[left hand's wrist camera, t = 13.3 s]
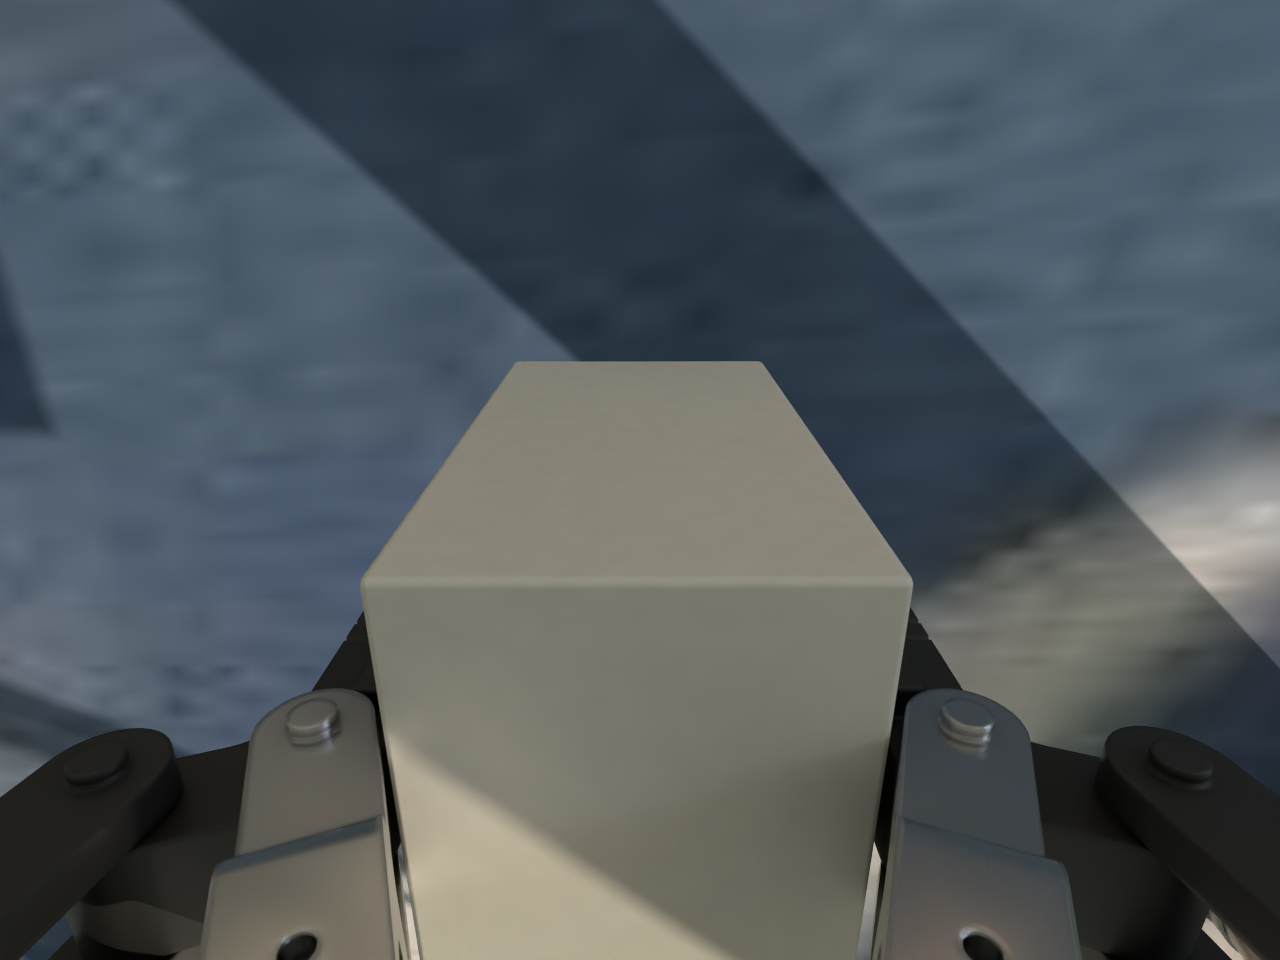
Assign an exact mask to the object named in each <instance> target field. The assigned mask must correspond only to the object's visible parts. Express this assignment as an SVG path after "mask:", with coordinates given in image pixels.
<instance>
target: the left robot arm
mask: <svg viewBox="0 0 1280 960" xmlns="http://www.w3.org/2000/svg"><path fill="white" fill-rule="evenodd" d="M874 842H875V845H876V848H877V850H878V853H879V856H880V859H881V862H880V868H879V874H878V882H877V891H876V900H875V908H874V917H873V926H872V935H871V943H870V952H869V960H1232V959H1231V958H1230V957H1229V956H1228V955H1227V954H1226V953H1225V952H1224V951H1223V950H1222V949H1221V948H1220V947H1219V946H1218V945H1217V944H1216V943H1215V942H1214V941H1213V940H1212V939H1211V938H1210V937H1209V936H1208V935H1207V934H1206V933H1205V932H1204V931H1203V930H1202V927H1203V924H1204V922H1205V919H1206V917H1207V914H1208V912H1209V915H1210V918H1211V920H1212V922H1213V923H1214V925H1215V926H1216V927H1217V929H1218V930H1219V931H1220V933H1221V934H1222V935H1223V937H1224V938H1225V939H1226V940H1227V942H1228V943H1229V944H1230V945H1231V946H1232V947H1233V948H1234V949H1235V950H1236V951H1237V952H1239V953H1240V954H1241V956H1242V957H1243V958H1244V959H1245V960H1280V797H1278V796H1277V795H1276V794H1274V793H1273V792H1272V791H1270V790H1269V789H1268V788H1266V787H1265V786H1264V785H1262V784H1261V783H1260V782H1258V781H1257V780H1256V779H1254V778H1253V777H1252V776H1250V775H1249V774H1248V773H1246V772H1245V771H1244V770H1243V769H1241V768H1240V767H1239V766H1237V765H1236V764H1235V763H1233V762H1232V761H1231V760H1229V759H1228V758H1226V757H1225V756H1224V755H1222V754H1221V753H1219V752H1218V751H1216V750H1214V749H1212V748H1211V747H1209V746H1207V745H1205V744H1203V743H1201V742H1199V741H1197V740H1195V739H1192V738H1190V737H1187V736H1185V735H1182V734H1179V733H1176V732H1173V731H1169V730H1165V729H1160V728H1155V727H1148V726H1131V727H1125V728H1121V729H1118V730H1116V731H1114V732H1112V733H1111V734H1110V735H1109V736H1108V738H1107V740H1106V742H1105V746H1104V749H1103V753H1102V756H1101V758H1099V757H1095V756H1090V755H1085V754H1081V753H1076V752H1072V751H1067V750H1062V749H1058V748H1053V747H1049V746H1044V745H1041V744H1037V743H1033V742H1030V737H1029V734H1028V731H1027V730H1026V728H1025V726H1024V725H1023V723H1022V722H1021V721H1020V720H1019V719H1018V718H1017V717H1016V716H1015V715H1014V714H1013V713H1012V712H1011V711H1009V710H1008V709H1006V708H1005V707H1004V706H1002V705H1000V704H999V703H997V702H995V701H993V700H991V699H989V698H987V697H984V696H981V695H979V694H976V693H972V692H968V691H964V690H963V689H962V688H961V686H960V684H959V683H958V681H957V680H956V678H955V677H954V675H953V673H952V672H951V670H950V669H949V667H948V666H947V664H946V663H945V661H944V659H943V658H942V656H941V655H940V653H939V652H938V650H937V648H936V647H935V645H934V644H933V642H932V641H931V640H929V639H928V634H927V633H926V631H925V630H924V628H923V627H922V625H921V623H918V619H917V617H916V616H915V614H914V612H913V611H912V609H911V608H910V610H909V616H908V623H907V629H906V636H905V642H904V649H903V655H902V662H901V668H900V675H899V681H898V688H897V694H896V701H895V707H894V714H893V720H892V727H891V733H890V740H889V746H888V753H887V759H886V766H885V772H884V779H883V785H882V792H881V799H880V805H879V812H878V818H877V825H876V831H875V838H874ZM400 843H401V838H400V832H399V826H398V819H397V813H396V807H395V801H394V795H393V788H392V782H391V776H390V770H389V764H388V757H387V751H386V745H385V739H384V733H383V726H382V720H381V714H380V708H379V702H378V695H377V689H376V683H375V677H374V671H373V664H372V658H371V652H370V646H369V640H368V633H367V627H366V621H365V615H364V611H363V613H362V614H361V616H360V617H359V619H358V623H357V624H355V625H354V626H353V628H352V630H351V631H350V633H349V634H348V636H347V641H344V642H343V643H342V645H341V647H340V648H339V650H338V651H337V653H336V654H335V656H334V657H333V659H332V660H331V662H330V664H329V665H328V667H327V668H326V670H325V671H324V673H323V674H322V676H321V677H320V679H319V681H318V682H317V684H316V685H315V687H314V688H313V690H312V691H311V692H308V693H304V694H301V695H299V696H296V697H293V698H291V699H289V700H287V701H285V702H283V703H281V704H280V705H278V706H276V707H275V708H274V709H272V710H271V711H269V712H268V713H267V714H266V715H265V716H264V717H263V718H262V719H261V720H260V721H259V722H258V723H257V725H256V726H255V728H254V730H253V731H252V734H251V737H250V741H248V742H245V743H242V744H239V745H235V746H231V747H227V748H223V749H218V750H213V751H209V752H204V753H200V754H195V755H190V756H186V757H181V758H177V759H176V757H175V753H174V750H173V747H172V743H171V741H170V739H169V738H168V737H167V736H166V735H165V734H163V733H161V732H159V731H156V730H152V729H145V728H132V729H124V730H117V731H113V732H109V733H105V734H102V735H99V736H95V737H93V738H90V739H88V740H85V741H83V742H81V743H78V744H76V745H74V746H72V747H70V748H68V749H67V750H65V751H63V752H62V753H60V754H58V755H57V756H55V757H54V758H52V759H51V760H49V761H48V762H47V763H45V764H44V765H43V766H41V767H40V768H39V769H37V770H36V771H35V772H33V773H32V774H31V775H30V776H28V777H27V778H26V779H24V780H23V781H22V782H20V783H19V784H18V785H16V786H15V787H14V788H12V789H11V790H10V791H8V792H7V793H6V794H4V795H3V796H2V797H0V960H19V959H20V958H21V957H22V956H23V955H24V954H25V953H26V952H27V951H28V950H29V949H30V948H31V947H32V946H33V945H34V944H35V943H36V942H37V941H38V940H39V939H40V938H41V937H42V936H43V935H44V934H45V933H46V932H47V931H48V930H49V929H50V928H52V927H53V926H54V925H55V924H56V923H57V922H58V921H59V920H60V919H61V918H62V917H63V916H64V915H65V917H66V920H67V922H68V925H69V927H70V929H71V932H72V934H73V935H72V936H71V937H70V938H69V939H68V940H67V941H66V942H65V943H64V944H63V945H62V946H61V947H60V948H59V949H58V950H57V951H56V952H55V953H54V954H53V955H52V956H51V957H50V958H49V959H48V960H411V952H410V943H409V935H408V926H407V917H406V908H405V900H404V891H403V882H402V874H401V868H400V862H399V856H398V848H399V845H400Z"/></svg>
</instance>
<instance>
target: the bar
mask: <svg viewBox="0 0 1280 960" xmlns="http://www.w3.org/2000/svg"><path fill="white" fill-rule="evenodd" d="M360 590H361V596H362V602H363V609H364V615H365V621H366V627H367V633H368V640H369V646H370V652H371V658H372V664H373V671H374V677H375V683H376V689H377V695H378V702H379V708H380V714H381V720H382V726H383V733H384V739H385V745H386V751H387V757H388V764H389V770H390V776H391V782H392V788H393V795H394V801H395V807H396V813H397V819H398V826H399V832H400V838H401V844H402V850H403V857H404V863H405V869H406V875H407V881H408V888H409V894H410V900H411V906H412V912H413V919H414V925H415V931H416V937H417V943H418V950H419V956H420V960H856V955H857V948H858V942H859V935H860V929H861V922H862V916H863V909H864V903H865V896H866V890H867V883H868V877H869V870H870V864H871V857H872V851H873V844H874V838H875V831H876V825H877V818H878V812H879V805H880V799H881V792H882V785H883V779H884V772H885V766H886V759H887V753H888V746H889V740H890V733H891V727H892V720H893V714H894V707H895V701H896V694H897V688H898V681H899V675H900V668H901V662H902V655H903V649H904V642H905V636H906V629H907V623H908V616H909V610H910V603H911V597H912V590H913V581H912V578H911V576H910V575H909V573H908V572H907V571H906V569H905V568H904V566H903V565H902V563H901V562H900V560H899V559H898V558H897V556H896V555H895V553H894V552H893V550H892V549H891V548H890V546H889V545H888V543H887V542H886V540H885V539H884V537H883V536H882V535H881V533H880V532H879V530H878V529H877V527H876V526H875V525H874V523H873V522H872V520H871V519H870V517H869V516H868V514H867V513H866V512H865V510H864V509H863V507H862V506H861V504H860V503H859V502H858V500H857V499H856V497H855V496H854V494H853V493H852V491H851V490H850V489H849V487H848V486H847V484H846V483H845V481H844V480H843V479H842V477H841V476H840V474H839V473H838V471H837V470H836V468H835V467H834V466H833V464H832V463H831V461H830V460H829V458H828V457H827V456H826V454H825V453H824V451H823V450H822V448H821V447H820V445H819V444H818V443H817V441H816V440H815V438H814V437H813V435H812V434H811V433H810V431H809V430H808V428H807V427H806V425H805V424H804V422H803V421H802V420H801V418H800V417H799V415H798V414H797V412H796V411H795V410H794V408H793V407H792V405H791V404H790V402H789V401H788V399H787V398H786V397H785V395H784V394H783V392H782V391H781V389H780V388H779V387H778V385H777V384H776V382H775V381H774V379H773V378H772V376H771V375H770V374H769V372H768V371H767V369H766V368H765V366H764V365H763V363H762V362H759V361H649V362H516V363H515V364H514V365H513V367H512V368H511V370H510V371H509V372H508V374H507V375H506V377H505V378H504V379H503V381H502V382H501V384H500V385H499V386H498V388H497V389H496V391H495V392H494V393H493V395H492V396H491V398H490V399H489V401H488V402H487V403H486V405H485V406H484V408H483V409H482V410H481V412H480V413H479V415H478V416H477V417H476V419H475V420H474V422H473V423H472V424H471V426H470V427H469V429H468V430H467V431H466V433H465V434H464V436H463V437H462V438H461V440H460V441H459V443H458V444H457V445H456V447H455V448H454V450H453V451H452V452H451V454H450V455H449V457H448V458H447V459H446V461H445V462H444V464H443V465H442V466H441V468H440V469H439V471H438V472H437V473H436V475H435V476H434V478H433V479H432V480H431V482H430V483H429V485H428V486H427V487H426V489H425V490H424V492H423V493H422V494H421V496H420V497H419V499H418V500H417V502H416V503H415V504H414V506H413V507H412V509H411V510H410V511H409V513H408V514H407V516H406V517H405V518H404V520H403V521H402V523H401V524H400V525H399V527H398V528H397V530H396V531H395V532H394V534H393V535H392V537H391V538H390V539H389V541H388V542H387V544H386V545H385V546H384V548H383V549H382V551H381V552H380V553H379V555H378V556H377V558H376V559H375V560H374V562H373V563H372V565H371V566H370V567H369V569H368V570H367V572H366V573H365V574H364V576H363V577H362V579H361V582H360Z"/></svg>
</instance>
